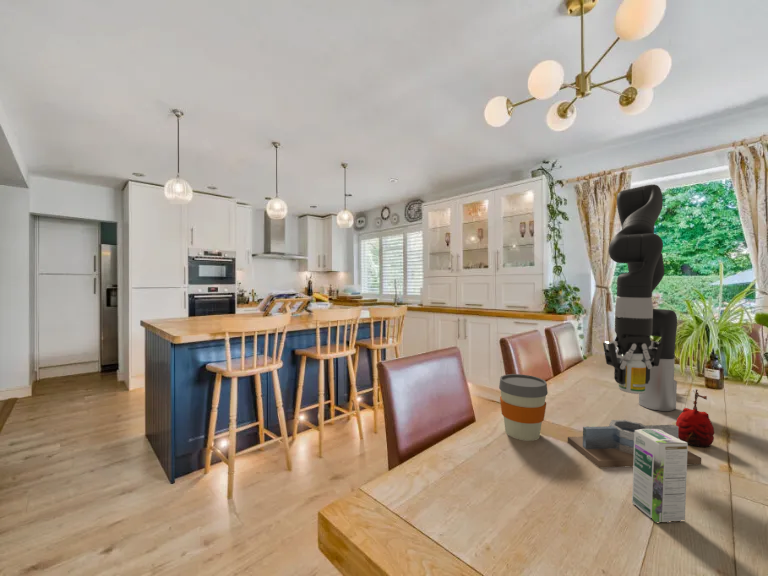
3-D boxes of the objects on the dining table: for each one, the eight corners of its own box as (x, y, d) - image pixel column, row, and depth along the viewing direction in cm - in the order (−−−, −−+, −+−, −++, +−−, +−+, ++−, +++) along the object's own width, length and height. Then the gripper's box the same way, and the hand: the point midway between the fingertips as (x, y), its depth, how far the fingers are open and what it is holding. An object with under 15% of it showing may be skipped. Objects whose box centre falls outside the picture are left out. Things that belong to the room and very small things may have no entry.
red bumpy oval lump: (713, 443, 90) (715, 387, 90) (714, 452, 85) (715, 393, 85) (675, 434, 95) (676, 381, 95) (674, 442, 90) (675, 386, 90)
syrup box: (630, 502, 66) (632, 428, 65) (658, 501, 66) (660, 427, 66) (656, 524, 60) (658, 443, 60) (687, 522, 60) (689, 441, 60)
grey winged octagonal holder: (660, 437, 90) (661, 418, 90) (692, 454, 81) (692, 433, 81) (573, 439, 88) (573, 420, 88) (596, 457, 80) (596, 436, 80)
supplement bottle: (615, 390, 85) (616, 352, 85) (622, 386, 88) (623, 349, 88) (641, 396, 81) (642, 356, 80) (648, 391, 84) (649, 352, 84)
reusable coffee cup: (546, 428, 98) (547, 377, 98) (547, 447, 87) (548, 389, 87) (501, 420, 104) (501, 371, 103) (496, 438, 92) (496, 383, 92)
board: (656, 439, 92) (657, 434, 92) (701, 464, 80) (701, 457, 80) (567, 442, 90) (567, 436, 90) (599, 467, 78) (599, 461, 78)
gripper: (648, 313, 88) (646, 378, 89) (595, 313, 87) (593, 379, 88) (674, 316, 81) (672, 387, 81) (617, 317, 80) (615, 388, 80)
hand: (631, 382), depth 84 cm, fingers closed on supplement bottle, 5 cm apart
